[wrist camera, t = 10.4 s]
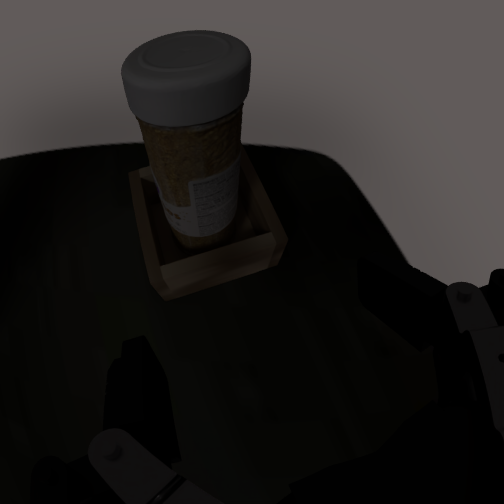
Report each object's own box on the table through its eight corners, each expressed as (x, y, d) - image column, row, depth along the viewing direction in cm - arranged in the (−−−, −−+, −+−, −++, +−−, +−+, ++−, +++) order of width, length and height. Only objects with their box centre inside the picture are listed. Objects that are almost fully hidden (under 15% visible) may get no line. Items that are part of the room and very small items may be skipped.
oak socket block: (165, 301, 18) (150, 283, 15) (142, 204, 21) (128, 172, 17) (277, 264, 20) (288, 239, 16) (238, 176, 23) (240, 142, 19)
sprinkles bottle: (162, 221, 20) (108, 50, 8) (217, 194, 21) (214, 19, 9) (191, 273, 19) (138, 99, 6) (250, 241, 20) (280, 59, 8)
